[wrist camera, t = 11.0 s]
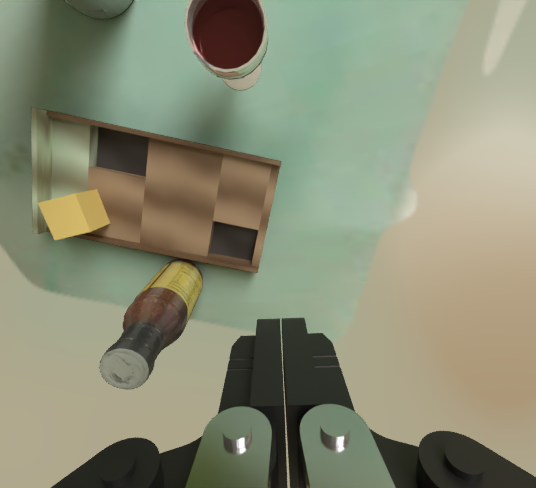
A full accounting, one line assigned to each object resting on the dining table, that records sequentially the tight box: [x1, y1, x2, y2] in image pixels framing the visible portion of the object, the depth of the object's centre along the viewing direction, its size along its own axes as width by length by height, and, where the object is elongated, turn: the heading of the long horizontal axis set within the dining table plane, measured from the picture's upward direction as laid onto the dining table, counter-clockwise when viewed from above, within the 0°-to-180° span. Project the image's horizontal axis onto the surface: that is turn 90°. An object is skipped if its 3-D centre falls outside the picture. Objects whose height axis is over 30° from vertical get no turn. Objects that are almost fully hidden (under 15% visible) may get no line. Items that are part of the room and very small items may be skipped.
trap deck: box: [31, 107, 281, 273], centre depth 38 cm, size 14×28×4 cm, turn 78°
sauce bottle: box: [99, 260, 203, 389], centre depth 34 cm, size 6×6×20 cm
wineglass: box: [184, 0, 268, 90], centre depth 30 cm, size 7×7×12 cm
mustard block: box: [38, 189, 110, 240], centre depth 37 cm, size 4×4×4 cm
